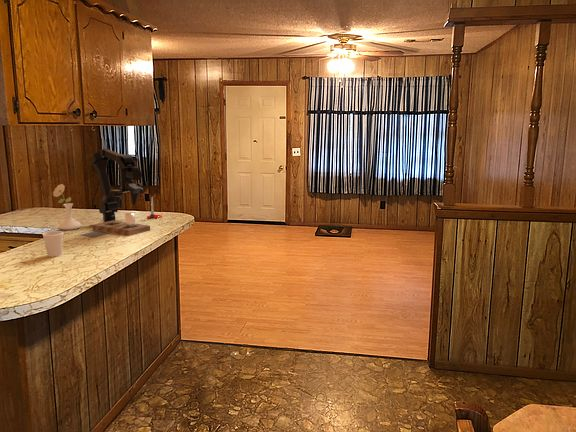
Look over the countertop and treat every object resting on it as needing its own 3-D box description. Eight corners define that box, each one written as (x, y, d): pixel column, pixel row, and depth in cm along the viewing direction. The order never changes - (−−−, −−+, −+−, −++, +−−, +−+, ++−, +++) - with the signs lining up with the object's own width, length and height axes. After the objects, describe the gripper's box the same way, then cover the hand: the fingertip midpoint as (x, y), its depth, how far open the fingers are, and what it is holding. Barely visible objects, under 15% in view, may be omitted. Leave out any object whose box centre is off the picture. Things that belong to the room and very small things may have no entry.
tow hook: (151, 216, 300) (145, 218, 291) (151, 195, 298) (144, 197, 289) (164, 216, 299) (158, 219, 290) (164, 196, 297) (158, 197, 288)
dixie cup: (59, 251, 218) (57, 229, 216) (68, 254, 213) (67, 232, 211) (40, 255, 212) (38, 233, 210) (49, 258, 206) (47, 236, 204)
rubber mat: (78, 236, 247) (78, 235, 247) (96, 231, 256) (96, 230, 256) (93, 238, 241) (93, 237, 241) (110, 234, 251) (110, 233, 251)
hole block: (92, 230, 260) (92, 224, 259) (113, 225, 272) (113, 220, 271) (130, 236, 246) (129, 230, 246) (150, 231, 258) (150, 225, 258)
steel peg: (124, 232, 255) (123, 213, 253) (131, 230, 259) (130, 212, 257) (130, 233, 252) (129, 214, 250) (137, 231, 256) (136, 213, 254)
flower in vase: (74, 225, 270) (70, 181, 265) (86, 228, 264) (82, 183, 259) (51, 230, 260) (47, 183, 255) (63, 233, 253) (59, 185, 248)
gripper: (122, 181, 249) (124, 211, 253) (149, 178, 265) (150, 206, 268) (108, 179, 255) (109, 208, 258) (135, 176, 271) (136, 203, 274)
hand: (127, 206), depth 264 cm, fingers open, 9 cm apart
